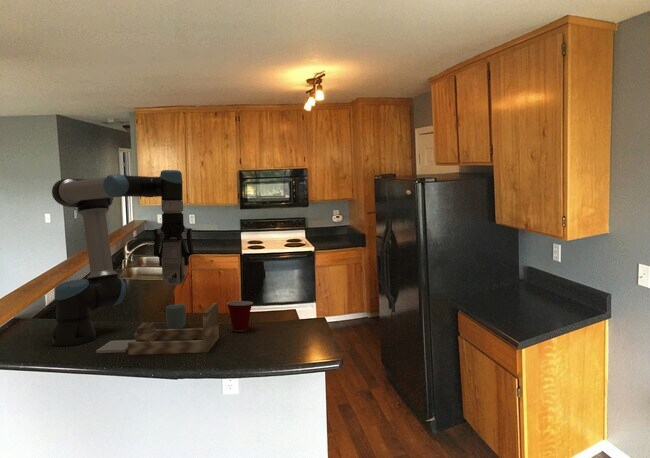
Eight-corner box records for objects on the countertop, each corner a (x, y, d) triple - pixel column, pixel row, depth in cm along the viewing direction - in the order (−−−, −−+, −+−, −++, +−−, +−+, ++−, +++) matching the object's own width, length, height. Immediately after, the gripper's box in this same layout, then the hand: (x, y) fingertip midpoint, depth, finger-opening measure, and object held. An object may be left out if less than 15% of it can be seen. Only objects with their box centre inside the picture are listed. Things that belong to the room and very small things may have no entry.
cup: (180, 332, 186) (179, 308, 186) (163, 331, 188) (162, 307, 187) (189, 327, 194) (188, 304, 193) (173, 326, 195) (172, 303, 195)
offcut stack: (134, 351, 162) (133, 329, 161) (144, 342, 172) (143, 322, 171) (148, 350, 162) (147, 328, 161) (158, 342, 172) (157, 321, 171)
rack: (128, 354, 158) (126, 315, 157) (147, 339, 176) (145, 304, 175) (208, 352, 158) (207, 312, 158) (218, 337, 176) (217, 302, 176)
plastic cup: (259, 328, 189) (258, 300, 189) (244, 335, 179) (243, 305, 179) (237, 326, 194) (237, 298, 193) (222, 332, 184) (221, 303, 183)
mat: (96, 353, 160) (96, 350, 160) (111, 343, 172) (111, 340, 172) (124, 352, 160) (124, 349, 160) (137, 342, 172) (137, 339, 172)
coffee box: (168, 281, 170) (167, 238, 170) (186, 280, 171) (185, 238, 170) (162, 285, 161) (161, 240, 160) (180, 284, 162) (179, 240, 161)
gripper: (141, 212, 161) (143, 276, 162) (196, 212, 161) (198, 275, 163) (149, 212, 168) (151, 273, 169) (201, 212, 169) (203, 272, 170)
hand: (174, 274), depth 166 cm, fingers closed on coffee box, 7 cm apart
